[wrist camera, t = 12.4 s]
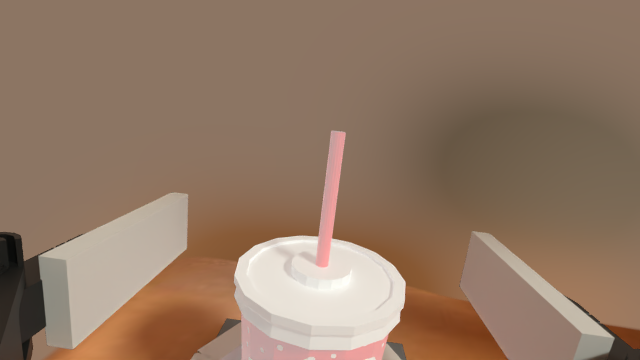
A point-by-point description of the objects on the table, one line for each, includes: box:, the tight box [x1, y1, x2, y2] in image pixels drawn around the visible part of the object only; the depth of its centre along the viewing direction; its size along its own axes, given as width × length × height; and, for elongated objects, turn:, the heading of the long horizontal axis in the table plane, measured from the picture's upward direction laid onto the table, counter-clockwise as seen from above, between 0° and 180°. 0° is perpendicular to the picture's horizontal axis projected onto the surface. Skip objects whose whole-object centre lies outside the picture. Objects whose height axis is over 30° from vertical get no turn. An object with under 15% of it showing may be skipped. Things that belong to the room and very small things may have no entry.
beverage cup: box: [234, 131, 405, 360], centre depth 12 cm, size 6×6×14 cm
